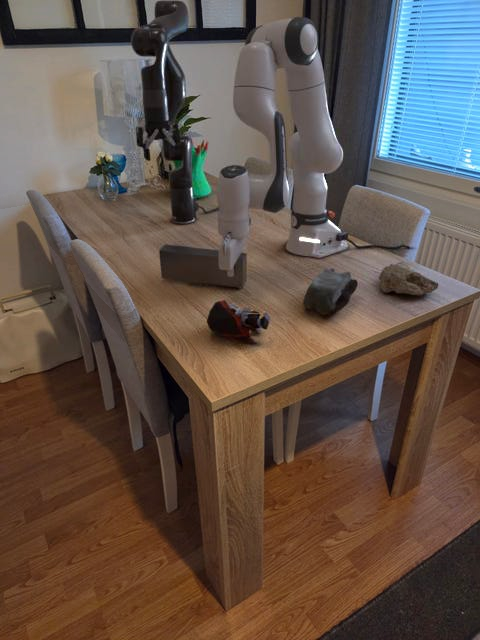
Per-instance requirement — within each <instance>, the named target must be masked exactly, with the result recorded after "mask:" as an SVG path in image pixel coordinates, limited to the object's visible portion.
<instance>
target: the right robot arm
mask: <svg viewBox="0 0 480 640" xmlns="http://www.w3.org/2000/svg"><path fill="white" fill-rule="evenodd" d="M318 47H319V33H318V29H317V27H316V25H315V24H314V22H313V21H312V19H310V18H308V17H304V16H295V17H293V18H282V19H276V20H275V21H271V22H269V23H267V24H264V25H259V26H256V27H254V28H253V29H251V30H250V32H249V33H248V34H247V37H246V39H245V43H244V46H243V47H242V48H241V50H240V52H239V56H238V60H237V63H236V68H235V69H236V70H235V75H234V83H233V92H232V106H233V111H234V113H235V115H236V116H237V118H238V119H239V120H240V121H241V122H242V123H243V124H244V125H247V126H248V127H249V128H252V129H254V130H256V131H257V132H259V133H261V134H262V135H263V136H264V137H265V138H266V140H267V141H268V145H269V162H270V163H269V165H270V174H261V173H260V174H258V173H253V172H248V169H247V168H246V167H245V166H243V165H239V164H232V165H227V166H225V167H223V168H221V170H220V171H219V174H218V180H217V193H216V194H217V205H218V207H219V209H218V213H217V233H218V235H219V236H220V237H222V240H221V242H220V243H219V246H218V250H219V262H218V265H219V269H221V270H227V275H228V276H229V277H233V276H234V274H235V273H234V272H235V270H234V265H235V263H236V261H237V259H238V258H239V256H240V254H241V253H244V252H243V251H244V250H245V248H247V246H248V241H249V234H250V226H251V224H252V217H250V212H249V209H253V210H261V211H264V212H268V213H273V214H276V213H278V212H280V211H282V210H283V209H285V208H286V206H287V205H288V204H289V201H290V200H289V199H290V187H289V186H290V185H289V176H288V158H287V157H288V156H287V150H288V153H289V156H290V161H291V169H292V177H293V178H292V179H293V199H292V202H293V203H292V208H291V214H290V231H289V235H288V239H287V242H286V245H285V249H286V251H288V252H289V253H292V254H294V255H298V256H303V257H304V256H305V257H311V258H316V259H322V258H325V257H327V256H330V255H333V254H336V253H339V252H343V251H345V250H348V247H349V246H348V243H350V244H351V245H352V246H353V247H354V248H356V249H369V248H378V249H385V250H398V249H401V248H407V249H411V247H410V246H409V245H408V246H405V245H404V244H405V243H403V244H400V245H397V246H387V245H380V244H369V245H358V244H356V243H355V242H354V241H353V240H351V239H349V232H347V231H342V230H341V229H340V228H339V227H338V226H337V225H335V224H334V223H333V222H332V221H331V220H330V219H329V218H331V219H334V217H335V215H336V214H335V212H334V211H332V210H327V209H326V206H327V205H326V204H327V196H328V185H327V182H326V179H325V174H332V173H335V172H336V171H337V169H338V168H339V167H340V166H341V165H342V162H343V159H344V151H343V148H342V146H341V144H340V142H339V141H338V139H337V135H336V133H335V130H334V126H333V123H332V119H331V117H330V112H329V108H328V99H327V92H326V91H327V90H326V82H325V80H326V79H325V74H324V68H323V63H322V59H321V55H320V51H319V49H318ZM278 69H284V71H285V80H286V89H287V96H288V104H289V110H290V116H291V119H292V121H293V123H294V125H295V127H296V131H295V132H294V133H293V134H292V135H291V136H290V138H289V140H288V143H287V139H286V137H287V136H286V126H285V120H284V116H283V114H282V113H281V112H279V111H278V109H277V106H276V101H275V91H276V73H277V70H278ZM345 241H347V242H348V243H347V242H345Z"/></svg>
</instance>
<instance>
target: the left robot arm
mask: <svg viewBox="0 0 480 640" xmlns="http://www.w3.org/2000/svg"><path fill="white" fill-rule="evenodd" d="M153 15H154V19H153V20H151V21H150V22H149V23H148V24H144V25H141V26H138V27H136V28H135V29H134V30H133V32H132V34H131V37H130V44H131V45H130V46H131V48H132V51H133V52H134V53H135V55H137V56H139V57H142V58H143V57H144V58H146V57H147V58H148V57H149V58H152V57H153V58H155V60H154V62H153V63H152V64H150V65H147V66H146V65H145V66H143V67H141V69H140V79H141V89H142V94H141V95H142V108H143V117H144V124H145V125H144V126H139V125H137V126H136V127H135V138H136V139H135V140H136V146H137V147H139V148H142V151H143V158H144V159H145V160H146V161H147V162H150V161H151V150H150V147H151V145H152V144H153V142H154V141H159V140H161V141H162V142H161V146H162V148H161V149H162V155H163V158H164V160H165V161H168V162H173V161H182V162H183V163H182V166H180V167H179V168H176V169H175V168H174V169H170V171H169V172H168V182H169V189H170V193H169V195H170V196H169V197H170V206H171V207H170V208H171V209H170V210H171V222H172V223H174V224H177V225H188V224H192V223H194V222H195V221H196V220H197V212H198V211H199V209H201V210H202V211H203V212H204V213H205V214H209V213H213V212H216V211H217V210H218V211H219V206H218V207H216V208H214V209H212V210H210V211H207V210H205V208H204V206H201V205H199V203H198V202H196V199H195V197H194V196H193V181H192V144H191V139H190V138H191V137H190V136H188V135H180V129H179V124H178V123H175V121H176V118H177V116H178V114H179V112H180V111H181V109H182V107H183V105H184V103H185V100H186V96H187V88H186V87H187V86H186V75H185V72H184V70H183V69H182V67H181V66H180V64H179V62H178V60H177V58H176V57H175V55H174V53H173V51H172V49H171V45H170V43H169V41H170V40H171V39H173V38H174V37H176V36H178V35H180V34H181V33H184V32H186V31H187V30H188V27H189V23H190V22H189V21H190V20H189V9H188V7H187V5H186V3H185V2H184V1H182V0H157V1H155V4H154V13H153ZM145 132H146V136H145V137H144V134H145Z"/></svg>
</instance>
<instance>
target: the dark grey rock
mask: <svg viewBox="0 0 480 640" xmlns="http://www.w3.org/2000/svg"><path fill="white" fill-rule="evenodd" d="M358 284H359V283H358V280H357V279H352V274H351V272H350V271H344V272H341V273H337V272H335V268H324V269H323V270H322V271H321V272H320V273H319V274H318V275H316V277H315V278H314V279H313V280H312V281H311V283H310V284H309V286H308V288H307V289H306V291H305V294H304V298H303V301H302V305H303V306H304V307H305V308H306V309H308V310H311V309H315V310H316V311H317V312H318V313H319V314H321V315H323V316H326V315H328V316H330V317H333V316H334V315H335V314H336V313H338V312H340V311H341V310H343V309H344V308H345V307H346V306H347V305H348V304H349V302H350V300H351V296H352V295H353V294H354V293H355V292H356V290H357V288H358V286H359V285H358Z"/></svg>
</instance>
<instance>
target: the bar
mask: <svg viewBox="0 0 480 640" xmlns="http://www.w3.org/2000/svg"><path fill="white" fill-rule="evenodd" d="M158 255H159V265H160V276H161V278H162V279H168V280H169V279H170V280H178V281H185V282H192V283H200V284H209V285H215V286H224V287H232V288H239V289H243V288H244V286H245V285H246V282H247V270H248V269H247V266H248V265H247V263H248V262H247V260H248V253H245V252H242V253H241V254H240V256H239V258H238V259H237V261H236V263H235V265H234V270H235V272H234V273H235V274H234V276H233V277H229V276H228V275H227V270H221V269H219V265H218V262H219V249H210V248H202V247H201V248H200V247H191V246H184V245H183V246H182V245H174V244H166V243H165V244H164V245H163V246H162V247H161V248H160V249H159V250H158Z"/></svg>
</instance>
